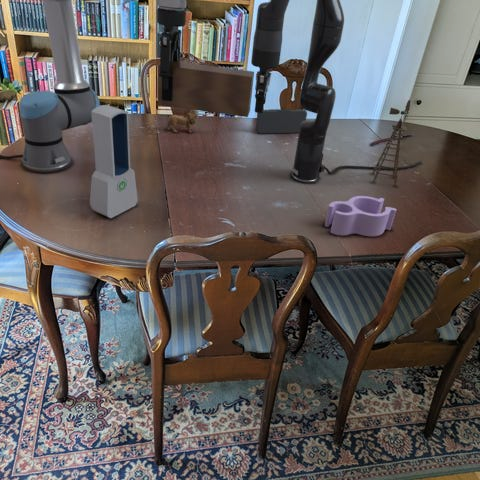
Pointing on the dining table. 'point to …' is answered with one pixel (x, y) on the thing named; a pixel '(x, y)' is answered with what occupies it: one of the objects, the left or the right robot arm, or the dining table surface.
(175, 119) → the lion figurine
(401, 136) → the sword
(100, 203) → the electronic device
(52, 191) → the dining table surface
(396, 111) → the miniature windmill
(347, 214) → the clip
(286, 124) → the handheld gaming console
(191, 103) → the box
